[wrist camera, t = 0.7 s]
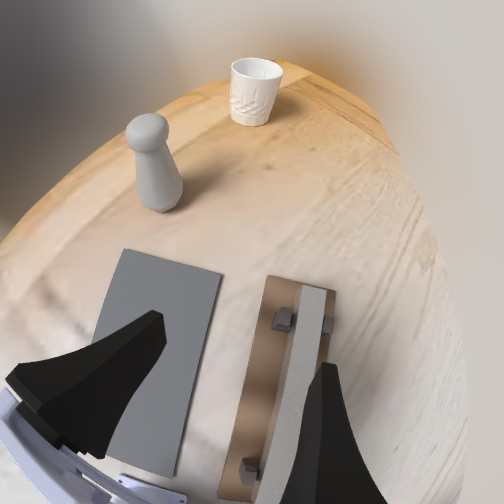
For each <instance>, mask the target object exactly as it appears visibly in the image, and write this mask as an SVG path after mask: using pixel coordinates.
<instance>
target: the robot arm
mask: <svg viewBox="0 0 504 504" xmlns="http://www.w3.org/2000/svg"><path fill="white" fill-rule="evenodd" d="M166 344H167V338H166V332H165V324H164V317H163V314H162V313H160V312H157V311H155V310H150V311H149V312H147V313H145V314H144V315H142V316H140V317H139V318H137V319H135V320H134V321H132V322H131V323H129V324H127V325H126V326H124V327H122V328H121V329H119V330H117V331H115V332H114V333H112V334H110V335H108V336H107V337H105V338H103V339H101V340H99V341H97V342H95V343H93V344H91V345H89V346H86V347H84V348H82V349H79V350H77V351H74V352H71V353H68V354H65V355H62V356H59V357H55V358H51V359H47V360H42V361H36V362H29V363H19V364H18V365H17V366H16V367H15V368H14V369H13V370H12V372H11V373H10V374H9V375H8V376H7V377H6V378H5V380H6V382H7V383H8V384H9V385H10V387H11V388H12V389H13V390H14V391H15V392H16V394H17V395H18V396H19V397H20V398H21V399H22V402H21V403H20V402H19V401H18V400H17V399H16V398H15V397H14V396H13V394H12V393H11V392H10V391H9V390H8V389H7V388H6V387H4V389H3V390H2V391H1V392H0V441H1V442H2V444H3V445H4V447H5V448H6V450H7V451H8V453H9V454H10V456H11V457H12V458H13V460H14V461H15V463H16V464H17V465H18V467H19V468H20V469H21V471H22V472H23V473H24V474H25V476H26V477H27V478H28V479H29V481H30V482H31V483H32V484H33V485H34V486H35V488H36V489H37V490H38V491H39V492H40V493H41V494H42V495H43V497H44V498H45V499H46V500H47V501H48V502H49V503H50V504H186V503H187V496H186V495H184V494H180V493H176V492H173V491H169V490H165V489H162V488H159V487H156V486H153V485H149V484H147V483H144V482H141V481H138V480H135V479H133V478H130V477H127V476H125V475H122V474H119V475H117V479H116V481H115V480H113V479H111V478H110V477H108V476H107V475H105V474H104V473H102V472H101V471H99V470H98V469H96V468H95V467H93V466H92V465H90V464H89V463H87V462H86V461H85V460H83V459H82V458H81V457H79V456H78V455H77V453H78V452H79V451H80V452H81V453H82V454H84V455H86V453H87V452H88V453H89V454H91V455H92V456H94V457H95V458H97V459H104V458H105V455H106V452H107V449H108V446H109V444H110V441H111V439H112V436H113V434H114V432H115V429H116V427H117V425H118V423H119V421H120V419H121V417H122V415H123V413H124V411H125V409H126V407H127V405H128V403H129V401H130V400H131V398H132V396H133V395H134V393H135V392H136V390H137V389H138V388H139V386H140V385H141V383H142V382H143V381H144V379H145V378H146V377H147V375H148V374H149V372H150V371H151V370H152V368H153V367H154V365H155V364H156V362H157V361H158V359H159V357H160V356H161V354H162V352H163V350H164V348H165V346H166ZM82 473H83V474H84V475H86V476H87V477H89V478H90V479H91V480H93V481H94V482H96V483H97V484H99V485H100V486H102V487H103V488H105V489H107V490H108V491H110V492H111V493H113V494H115V497H114V501H113V502H110V499H111V498H112V497H111V495H110V494H108V493H107V492H106V491H104V490H103V489H101V488H100V487H98V486H97V485H95V484H94V483H92V482H90V481H88V480H87V479H85V478H83V477H82ZM119 480H121V481H122V482H120V481H119ZM180 500H183V501H184V502H181V501H180ZM279 504H388V503H387V502H386V500H385V499H384V497H383V496H382V494H381V493H380V491H379V489H378V488H377V486H376V484H375V483H374V481H373V479H372V477H371V475H370V473H369V471H368V469H367V467H366V465H365V463H364V461H363V459H362V456H361V454H360V452H359V449H358V446H357V444H356V441H355V438H354V435H353V433H352V429H351V426H350V423H349V419H348V416H347V412H346V408H345V404H344V400H343V396H342V391H341V386H340V381H339V375H338V368H337V366H336V364H331V363H326V362H322V363H321V365H320V367H319V369H318V371H317V372H316V374H315V376H314V378H313V380H312V382H311V384H310V386H309V388H308V392H307V396H306V400H305V404H304V408H303V415H302V421H301V428H300V434H299V441H298V446H297V452H296V456H295V460H294V463H293V466H292V470H291V473H290V476H289V479H288V482H287V485H286V487H285V490H284V493H283V495H282V498H281V501H280V503H279Z"/></svg>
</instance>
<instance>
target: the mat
mask: <svg viewBox="0 0 504 504" xmlns="http://www.w3.org/2000/svg"><path fill="white" fill-rule="evenodd" d="M220 278H221V274H218V273H214V272H210V271H206V270H202V269H198V268H194V267H191V266H187V265H183V264H179V263H175V262H172V261H168V260H164V259H161V258H157V257H153V256H150V255H146V254H142V253H139V252H135V251H132V250H128V249H123V252H122V254H121V257H120V259H119V262H118V264H117V267H116V270H115V272H114V275H113V278H112V280H111V283H110V286H109V289H108V292H107V294H106V297H105V300H104V303H103V306H102V309H101V313H100V316H99V319H98V322H97V325H96V329H95V332H94V336H93V339H92V343H91V344H93V343H95V342H97V341H99V340H101V339H103V338H105V337H107V336H108V335H110V334H112V333H114V332H115V331H117V330H119V329H121V328H122V327H124V326H126V325H127V324H129V323H131V322H132V321H134V320H135V319H137V318H139V317H140V316H142V315H144V314H145V313H147V312H149V311H150V310H155V311H157V312H160V313H162V314H163V317H164V324H165V332H166V338H167V344H166V346H165V348H164V350H163V352H162V354H161V356H160V357H159V359H158V361H157V362H156V364H155V365H154V367H153V368H152V370H151V371H150V372H149V374H148V375H147V377H146V378H145V379H144V381H143V382H142V383H141V385H140V386H139V388H138V389H137V390H136V392H135V393H134V395H133V396H132V398H131V400H130V401H129V403H128V405H127V407H126V409H125V411H124V413H123V415H122V417H121V419H120V421H119V423H118V425H117V427H116V429H115V432H114V434H113V436H112V439H111V441H110V444H109V446H108V449H107V452H106V455H108V456H110V457H112V458H115V459H117V460H119V461H122V462H124V463H127V464H129V465H132V466H134V467H137V468H140V469H143V470H146V471H149V472H152V473H155V474H158V475H161V476H164V477H168V478H171V479H172V478H173V474H174V469H175V464H176V460H177V455H178V450H179V446H180V441H181V437H182V432H183V428H184V423H185V419H186V415H187V410H188V406H189V402H190V397H191V393H192V389H193V385H194V380H195V376H196V372H197V368H198V364H199V360H200V356H201V352H202V348H203V344H204V340H205V336H206V332H207V328H208V324H209V320H210V316H211V312H212V309H213V305H214V301H215V297H216V293H217V290H218V286H219V282H220Z"/></svg>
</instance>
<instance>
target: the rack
mask: <svg viewBox="0 0 504 504" xmlns="http://www.w3.org/2000/svg"><path fill="white" fill-rule="evenodd" d="M302 285H306V286H310V287H314V288H319V289H323V290H327V292H326V300H325V308H324V316H323V323H322V330H321V337H320V343H319V349H318V355H317V361H316V367H315V372H314V376H315V374H316V372H317V371H318V369H319V367H320V365H321V363H322V362H326V359H327V353H328V346H329V340H330V334H332V330H333V322H334V317H333V309H334V300H335V291H334V290H330V289H326V288H321V287H317V286H313V285H308V284H304V283H300V282H295V281H291V280H287V279H283V278H278V277H274V276H270V275H268V276H267V278H266V283H265V287H264V292H263V297H262V302H261V307H260V312H259V316H258V321H257V326H256V330H255V335H254V340H253V344H252V349H251V354H250V358H249V363H248V367H247V372H246V376H245V381H244V385H243V389H242V394H241V398H240V402H239V407H238V411H237V415H236V420H235V424H234V428H233V432H232V436H231V441H230V445H229V449H228V453H227V457H226V461H225V465H224V469H223V473H222V477H221V481H220V485H219V489H218V493H217V498H218V499H225V500H231V501H239V502H248V503H252V501H251V498H250V497H251V493H252V490H253V486H254V483H255V479H256V476H257V472H258V468H259V465H260V461H261V457H262V453H263V449H264V445H265V441H266V437H267V433H268V429H269V425H270V421H271V416H272V412H273V408H274V403H275V399H276V394H277V389H278V385H279V380H280V375H281V370H282V365H283V360H284V355H285V350H286V345H287V339H288V334H289V329H290V323H291V317H292V311H293V305H294V299H295V293H296V291H297V290H298V289H299V288H300V287H301V286H302Z"/></svg>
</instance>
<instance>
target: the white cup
mask: <svg viewBox="0 0 504 504" xmlns="http://www.w3.org/2000/svg"><path fill="white" fill-rule="evenodd" d="M282 76H283V69H282V68H281V67H280V66H279V65H277V64H276V63H274V62H271V61H268V60H265V59H260V58H243V59H239V60H236V61H234V62H233V63H232V65H231V84H230V104H231V105H230V114H231V118H232V119H233V120H234V121H235V122H237V123H239V124H241V125H244V126H252V127H255V126H260V125H263V124H265V123H266V122H267V121H268V119H269V116H270V112H271V109H272V108H273V105H274V102H275V99H276V96H277V92H278V89H279V86H280V82H281V79H282Z"/></svg>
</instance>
